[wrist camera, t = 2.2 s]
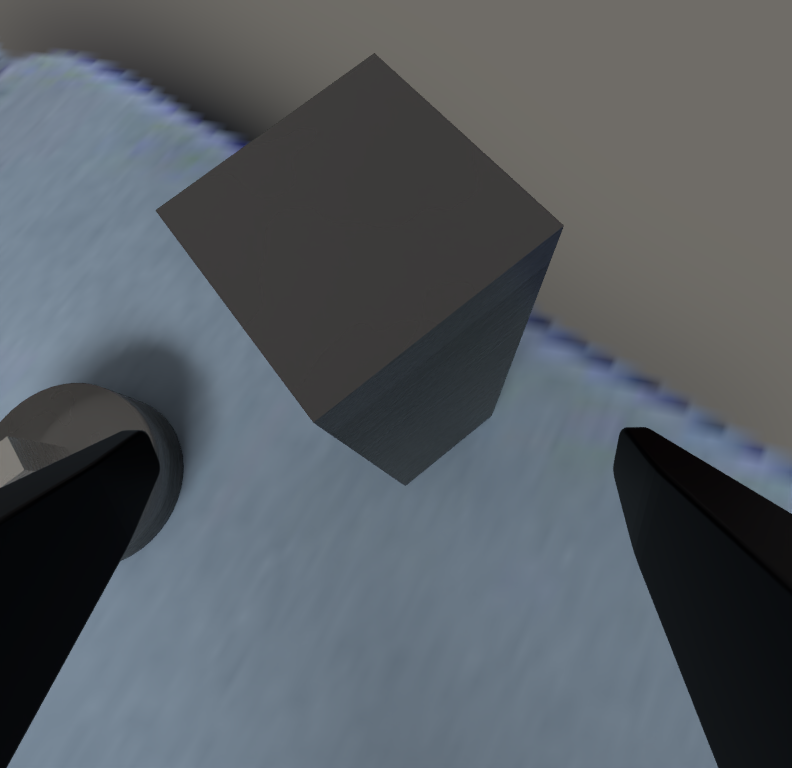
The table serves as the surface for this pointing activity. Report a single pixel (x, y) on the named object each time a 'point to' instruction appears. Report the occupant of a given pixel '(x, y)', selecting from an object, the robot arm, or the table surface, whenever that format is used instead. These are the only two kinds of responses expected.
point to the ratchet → (90, 442)
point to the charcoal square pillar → (373, 264)
